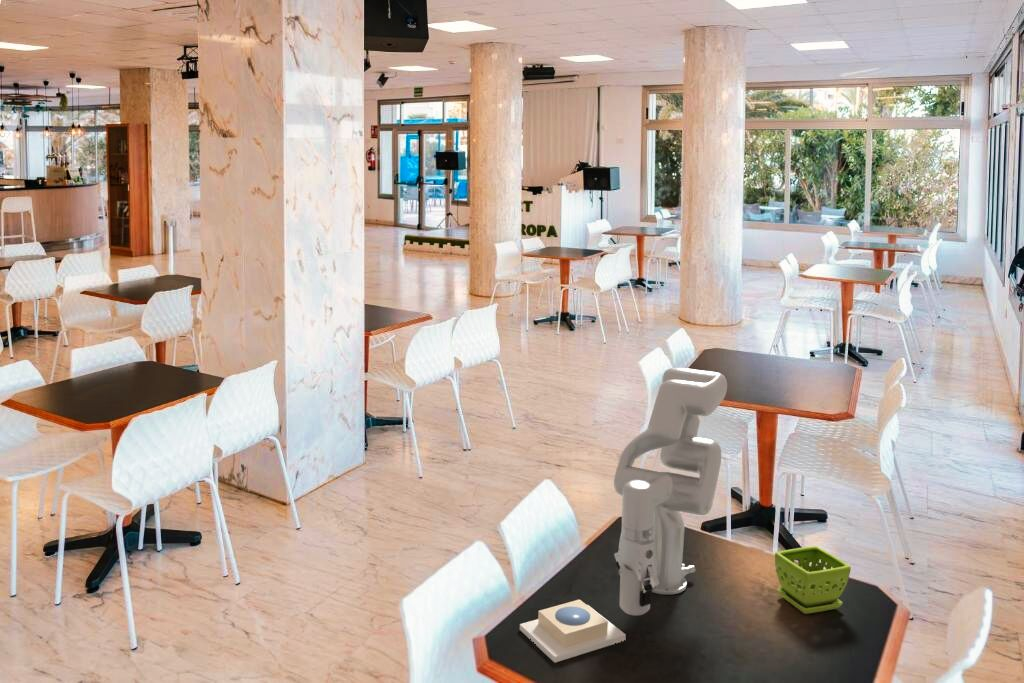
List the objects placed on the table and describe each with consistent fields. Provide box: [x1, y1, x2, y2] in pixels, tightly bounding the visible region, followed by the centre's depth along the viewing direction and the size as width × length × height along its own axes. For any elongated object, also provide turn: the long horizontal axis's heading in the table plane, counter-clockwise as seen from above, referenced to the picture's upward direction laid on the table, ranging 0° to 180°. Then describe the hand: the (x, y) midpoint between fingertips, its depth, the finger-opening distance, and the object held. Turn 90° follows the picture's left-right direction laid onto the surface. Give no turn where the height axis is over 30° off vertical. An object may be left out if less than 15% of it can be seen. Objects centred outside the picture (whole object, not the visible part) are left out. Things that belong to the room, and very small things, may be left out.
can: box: [619, 564, 651, 617], centre depth 214 cm, size 8×8×12 cm
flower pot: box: [774, 545, 852, 615], centre depth 226 cm, size 14×14×13 cm
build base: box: [519, 599, 627, 663], centre depth 210 cm, size 20×16×5 cm
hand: (635, 596), depth 214 cm, fingers closed on can, 7 cm apart
